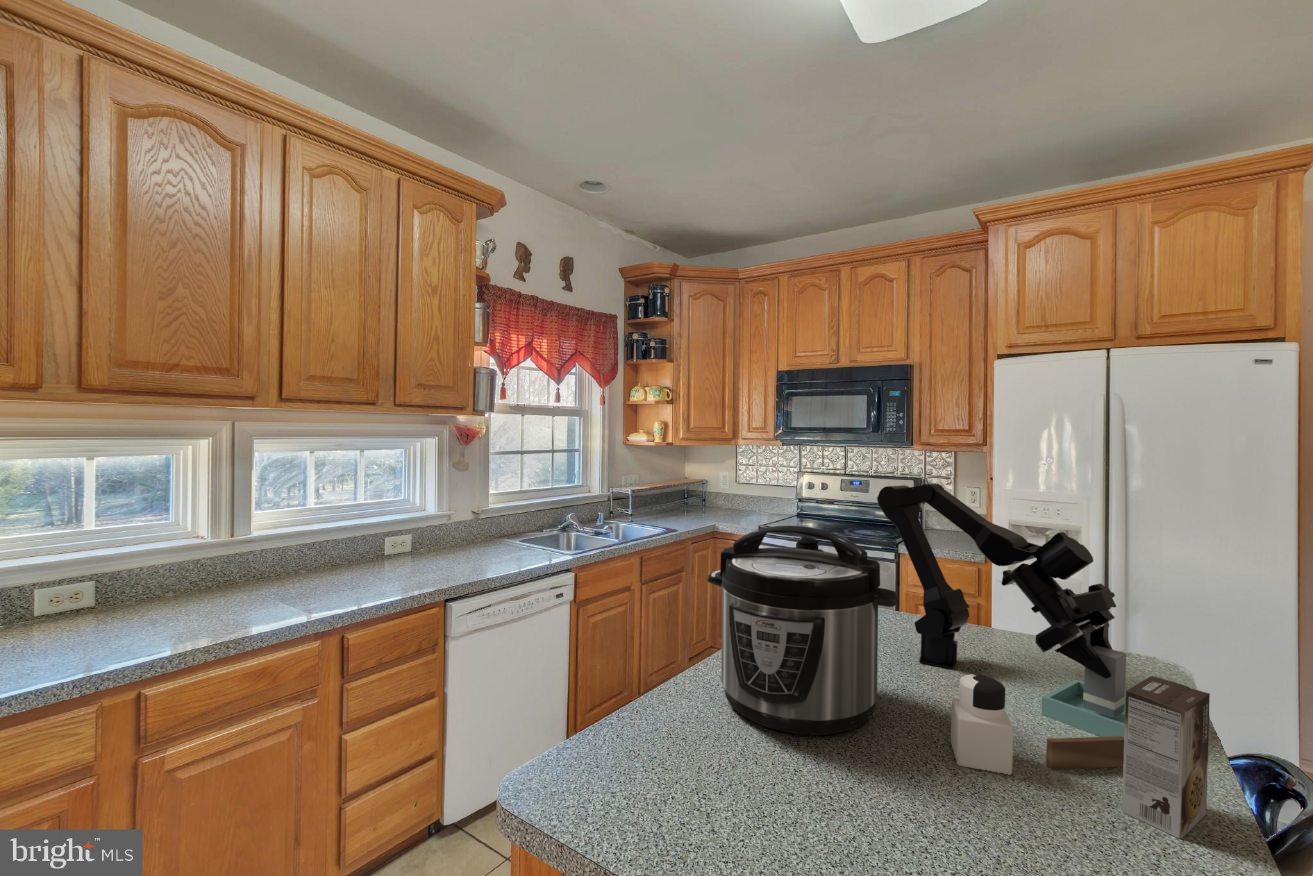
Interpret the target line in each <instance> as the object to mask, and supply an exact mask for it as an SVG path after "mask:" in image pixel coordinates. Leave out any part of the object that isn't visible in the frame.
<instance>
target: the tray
mask: <svg viewBox="0 0 1313 876" xmlns="http://www.w3.org/2000/svg"><path fill="white" fill-rule="evenodd" d="M1083 693H1084V681H1082V680H1078V679H1074V680H1072V681H1070V682H1067V683H1066V684H1064V685H1062V686H1060V687H1058V688H1056V689H1054V690H1052V691H1050V692H1049V693H1047V694H1045V695H1043V696H1042V697H1041V715H1042V716H1045V717H1048V718H1050V719H1053V720H1056V721H1058V722H1061V723H1064V724H1066V725H1069V726H1071V727H1074V728H1077V729H1080V730H1082V731H1085V732H1088V733H1090V734H1093V735H1095V736H1097V737H1113V736H1122V737H1125V707H1126V694H1125V704H1124V712H1123V713H1121V714H1120V715H1118V716H1116V717H1115V718H1112V717H1109V716H1106V715H1103V714H1100V713H1098V712H1095V711H1092V710H1089V709H1086V708H1083V703H1084V700H1083Z"/></svg>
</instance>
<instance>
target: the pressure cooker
mask: <svg viewBox="0 0 1313 876" xmlns="http://www.w3.org/2000/svg"><path fill="white" fill-rule="evenodd" d="M768 533H793V534H794V533H795V534H799V535H802V536H800V537H799V538H798V539H796V543H795V547H791V548H790V547H762V548H761V547H760V546H761V544H762V543H763V541H764V539H765V537H766V535H767V534H768ZM816 538H818V539H823V540H827V541H830V542H831V543H832V546H833V547H834V549H835V552H833V551H828V550H827V551H826V550H824V549H820V548H819V543H820V541H819V540H817V539H816ZM719 563H720V569H717V570H714V571H712V572H710V573H709V574H708V576H707V579H706V580H707V581H706V582H708V583H710V584H712V585H715V586H717V587H721V666H720V667H721V676H720V679H721V685H722V688H723V690H724V695H725V698H726V700H727V701H728V703H729V704H730V705H731V707H732V708H733V709H734V710H735V711H736V712H738V714H740V715H742V716H743V717H745V718H747V719H748V720H750V721H752V722H753V723H756V724H759V725H761V726H763V727H765V728H770V729H773V730H776V731H780V732H786V733H791V734H797V735H813V736H821V735H822V736H823V735H833V734H834V735H835V734H838V733H843V732H848V731H851V730H853V729H857V728H858V727H860V726H862V725H863V724H864V723H865V722H867V721H868V719H869V718H870V717H871V716H872V714H873V711H874V710H875V708H876V702H877V698H878V663H879V661H878V660H879V659H878V658H879V656H878V655H879V654H878V653H879V652H878V651H879V650H878V649H879V647H878V645H879V644H878V642H879V606H880V607H886V608H887V607H888V608H893V607H895V606H896V605H897V604H898V595H899V594H898V592H897V591H895V590H891V589H889V588H888V589H887V588H882V587H881V565H880V563H879V561H878V560H876V559H868V551H866V550H865V549H864V548H863V547H861V546H860V545H858V544H856V543H855V542H853V541H852V540H849V539H848V538H845V537H843V536H841V535H839V534H836V533H833V532H832V531H831V532H830V531H827V530H823V529H819V528H816V527H815V528H814V527H808V526H800V525H776V526H768V527H765V528H759V529H757V530H754V531H751V532H749V533H746V534H744V535H742V536H740V537H739V538H738V539H736V540H735V541H734V542H733V544H732V546H729V547H726V548H723V549H722V550H721V551H720V562H719Z"/></svg>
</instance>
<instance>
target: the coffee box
mask: <svg viewBox="0 0 1313 876" xmlns="http://www.w3.org/2000/svg"><path fill="white" fill-rule="evenodd" d="M1125 695H1126V707H1125V737H1124V765H1123V767H1122V768H1123V769H1122V774H1123V775H1122V790H1121V791H1122V793H1121V796H1122V797H1121V798H1122V799H1121V811H1122V813H1124V814H1126V815H1127V816H1130V817H1133V818H1135V819H1136V820H1138V821H1141V822H1143V823H1145V824H1147V825H1149V826H1151V827H1154V828H1156V829H1157V830H1160V831H1161V832H1164V833H1167V834H1168V835H1170V836H1173V837H1175V838H1176V839H1180V840H1181V839H1184V837H1185V836H1187V834H1188V833H1190V832H1191V830H1192V829H1193V828H1194V827H1196V825H1197V824H1198V823H1199V822H1200V821H1202V819H1203V818H1204V817H1205V816H1206V815H1207V802H1208V801H1207V800H1208V799H1207V796H1208V795H1207V794H1208V765H1209V763H1208V762H1209V738H1210V737H1209V733H1210V728H1209V727H1210V697H1211V694H1210V693H1209V692H1205V691H1201V690H1198V689H1195V688H1191V687H1189V686H1187V685H1185V684H1180V683H1178V682H1175V681H1171V680H1167V679H1164V678H1161V677H1158V676H1153V675H1151V676H1149V677H1147V678H1145V679H1143V680H1142V681H1140V682H1139V683H1138V682H1137V683H1136V684H1135V685H1133V686H1132V687H1130V688H1129V689H1127V690H1125Z"/></svg>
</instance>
